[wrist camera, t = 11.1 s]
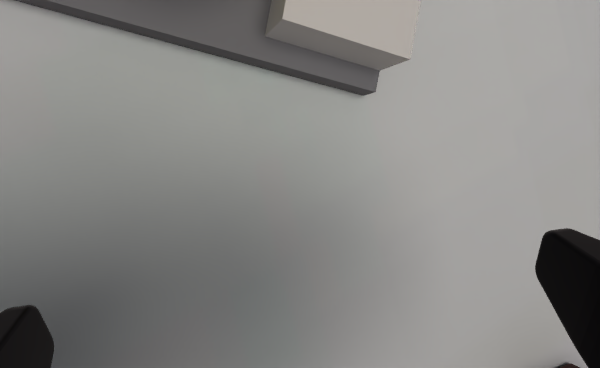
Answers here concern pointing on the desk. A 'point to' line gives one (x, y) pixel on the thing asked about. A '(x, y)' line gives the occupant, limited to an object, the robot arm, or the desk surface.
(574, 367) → the box
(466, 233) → the desk surface
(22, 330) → the robot arm
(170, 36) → the rail plate
